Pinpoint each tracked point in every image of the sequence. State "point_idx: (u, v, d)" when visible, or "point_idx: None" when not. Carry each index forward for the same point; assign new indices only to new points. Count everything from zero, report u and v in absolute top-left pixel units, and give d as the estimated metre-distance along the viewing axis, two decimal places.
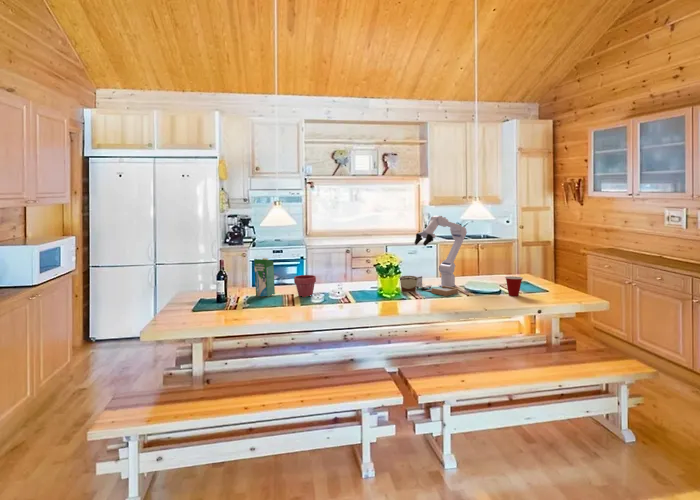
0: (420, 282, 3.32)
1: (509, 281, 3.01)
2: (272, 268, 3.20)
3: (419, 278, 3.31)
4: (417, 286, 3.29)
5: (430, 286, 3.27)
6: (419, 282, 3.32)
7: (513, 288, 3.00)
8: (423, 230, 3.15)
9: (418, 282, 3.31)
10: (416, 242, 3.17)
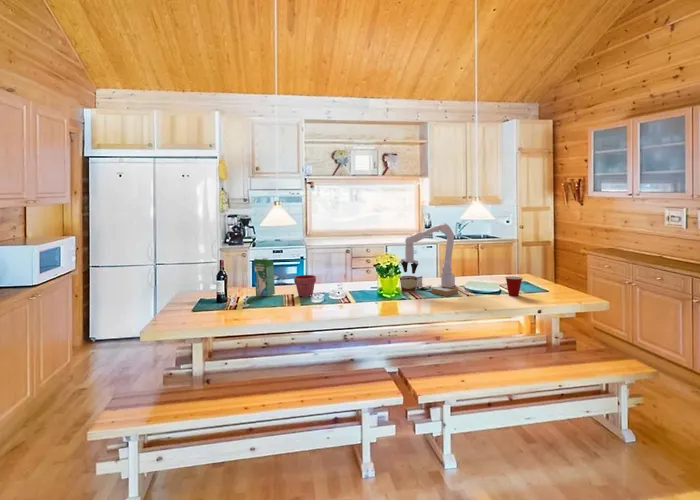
0: (420, 282, 3.32)
1: (509, 281, 3.01)
2: (272, 268, 3.20)
3: (419, 278, 3.31)
4: (417, 286, 3.29)
5: (430, 286, 3.27)
6: (419, 282, 3.32)
7: (513, 288, 3.00)
8: (405, 261, 3.34)
9: (418, 282, 3.31)
10: (406, 270, 3.40)
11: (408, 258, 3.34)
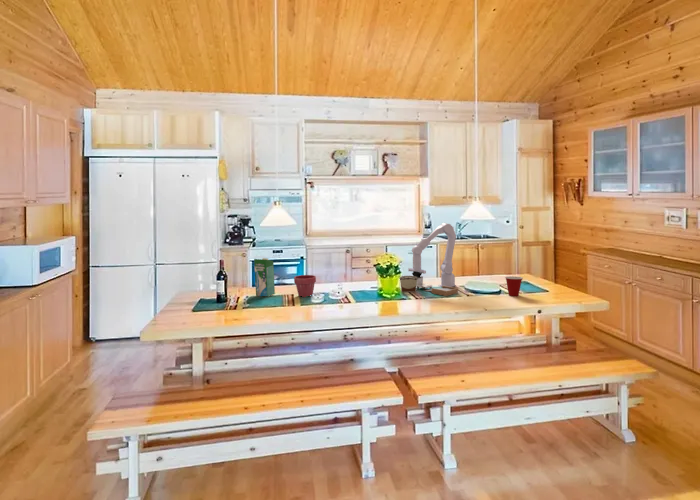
0: (421, 282, 3.32)
1: (509, 281, 3.01)
2: (272, 268, 3.20)
3: (420, 278, 3.31)
4: (418, 286, 3.28)
5: (431, 286, 3.27)
6: (420, 282, 3.31)
7: (513, 288, 3.00)
8: (412, 270, 3.30)
9: (419, 282, 3.31)
10: None
11: (415, 268, 3.29)
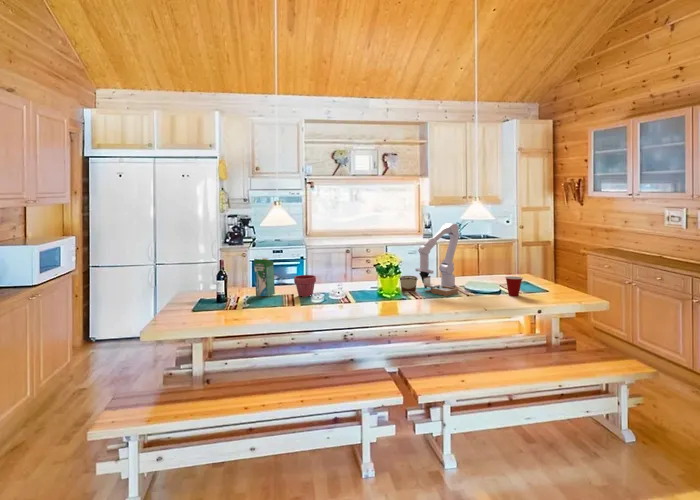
0: (428, 282, 3.27)
1: (509, 281, 3.01)
2: (272, 268, 3.20)
3: (427, 278, 3.26)
4: (425, 286, 3.23)
5: (438, 286, 3.22)
6: (427, 282, 3.26)
7: (513, 288, 3.00)
8: (420, 270, 3.25)
9: (426, 282, 3.25)
10: None
11: (423, 268, 3.24)
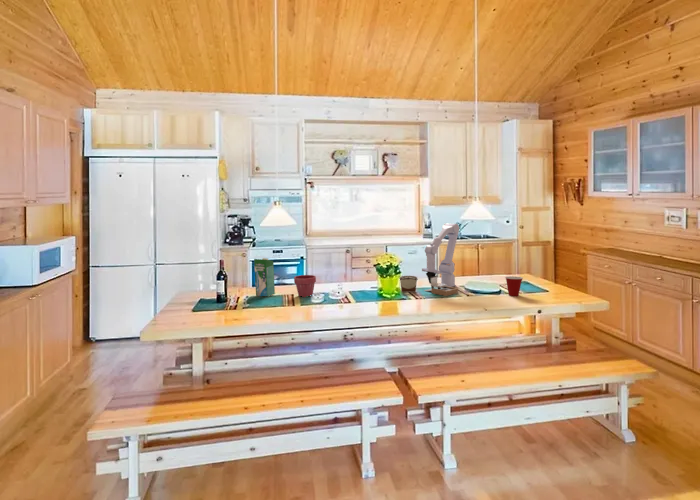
0: (435, 281, 3.22)
1: (509, 281, 3.01)
2: (272, 268, 3.20)
3: (434, 277, 3.21)
4: (432, 285, 3.18)
5: (446, 285, 3.17)
6: (434, 281, 3.21)
7: (513, 288, 3.00)
8: (426, 271, 3.20)
9: (433, 281, 3.21)
10: None
11: (430, 268, 3.19)
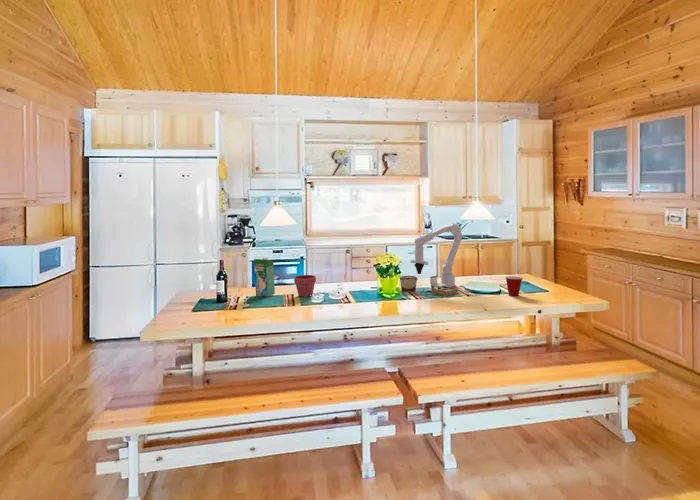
0: (435, 281, 3.22)
1: (509, 281, 3.01)
2: (272, 268, 3.20)
3: (434, 277, 3.21)
4: (432, 285, 3.18)
5: (446, 285, 3.17)
6: (434, 281, 3.21)
7: (513, 288, 3.00)
8: (415, 262, 3.32)
9: (433, 281, 3.21)
10: None
11: (418, 259, 3.31)
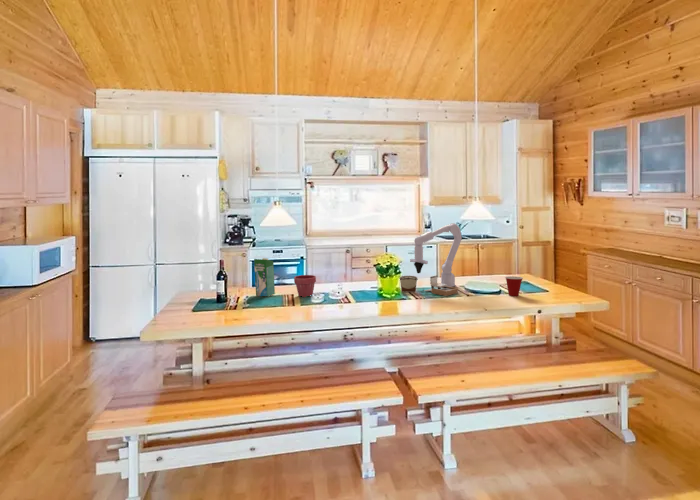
0: (435, 281, 3.22)
1: (509, 281, 3.01)
2: (272, 268, 3.20)
3: (434, 277, 3.21)
4: (432, 285, 3.18)
5: (446, 285, 3.17)
6: (434, 281, 3.21)
7: (513, 288, 3.00)
8: (414, 261, 3.33)
9: (433, 281, 3.21)
10: None
11: (417, 258, 3.32)
